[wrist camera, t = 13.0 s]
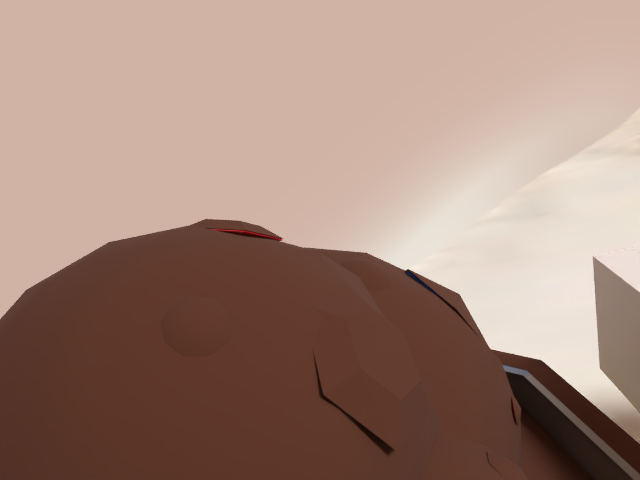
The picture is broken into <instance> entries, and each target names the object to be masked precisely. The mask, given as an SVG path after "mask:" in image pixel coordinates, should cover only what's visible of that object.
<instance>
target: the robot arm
mask: <svg viewBox="0 0 640 480" xmlns="http://www.w3.org/2000/svg"><path fill="white" fill-rule="evenodd" d="M593 266H594V282H595V297H596V313H597V329H598V345H599V361H600V369H601V370H602V371H603V372H604V373H605V374H606V376H607V377H608V378H609V379H610V380H611V381H612V382H613V383H614V384H615V386H616V387H617V388H618V389H619V390H620V391H621V392H622V393H623V394H624V396H625V397H626V398H627V399H628V400H629V401H630V402H631V403H632V404H633V406H634V407H635V408H636V409H637V410H638V411H639V412H640V252H638V251H636V250H635V249H633V248H632V247H628V248H624V249H620V250H616V251H612V252H608V253H603V254H599V255H595V256H593Z"/></svg>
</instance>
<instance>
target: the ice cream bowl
mask: <svg viewBox="0 0 640 480" xmlns="http://www.w3.org/2000/svg"><path fill="white" fill-rule="evenodd" d="M281 240H282V238H281V237H279V236H277V235H276V234H274V233H272V232H270V231H268V230H266V229H265V228H263V227H261V226H258V225H253V224H249V223H246V222H242V221H232V220H231V221H230V220H212V219H205V220H202V221H200V222H197V223H195V224H192V225H190V226H185V227H180V228H176V229H171V230H166V231H162V232H156V233H152V234H147V235H142V236H137V237H132V238H128V239H123V240H118V241H113V242H109V243H107V244H106V245H104V246H102V247H100V248H98V249H97V250H95V251H93V252H91V253H90V254H88V255H87V256H84V257H83V258H81V259H79V260H77V261H76V262H74V263H72V264H71V265H69V266H67V267H65V268H64V269H62V270H60V271H58V272H57V273H55V274H53V275H51V276H50V277H48V278H46V279H45V280H43V281H41V282H39V283H38V284H36V285H34V286H32V287H31V288H29V289H27V290H26V291H25V292H24V293H23V294H22V296H21V297H20V298H19V299H18V300H17V301H16V302H15V303H14V305H13V306H12V307H11V308H10V309H9V310H8V311H7V312H6V314H5V315H4V316H3V317H2V318H1V319H0V480H640V444H639V443H638V442H637V441H635V440H634V439H633V438H632V437H631V436H630V435H628V434H627V433H626V432H625V431H624V430H622V429H621V428H620V427H619V426H618V425H617V424H615V423H614V422H613V421H612V420H611V419H610V418H608V417H607V416H606V415H605V414H604V413H603V412H601V411H600V410H599V409H598V408H597V407H596V406H594V405H593V404H592V403H591V402H590V401H588V400H587V399H586V398H585V397H584V396H583V395H581V394H580V393H579V392H578V391H577V390H576V389H574V388H573V387H572V386H571V385H570V384H569V383H567V382H566V381H565V380H564V379H563V378H562V377H560V376H559V375H558V374H557V373H556V372H554V371H553V370H552V369H551V368H550V367H549V366H547V365H546V364H545V363H544V362H543V361H542V360H537V359H533V358H528V357H523V356H519V355H514V354H510V353H505V352H500V351H496V350H491V349H490V348H489V346H488V345H487V343H486V341H485V339H484V337H483V336H482V334H481V332H480V330H479V328H478V327H477V325H476V323H475V321H474V320H473V318H472V316H471V314H470V312H469V311H468V309H467V307H466V305H465V303H464V302H463V300H462V298H461V296H460V295H459V294H458V293H456V292H454V291H452V290H450V289H447V288H445V287H443V286H441V285H439V284H437V283H435V282H433V281H431V280H429V279H427V278H425V277H423V276H421V275H419V274H417V273H415V272H413V271H411V270H409V269H407V270H406V271H405V270H402V269H400V268H398V267H396V266H394V265H391V264H389V263H387V262H385V261H383V260H381V259H378V258H376V257H374V256H372V255H370V254H368V253H361V252H350V251H337V250H326V249H315V248H302V247H298V246H295V245H291V244H287V243H284V242H280V241H281Z"/></svg>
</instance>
